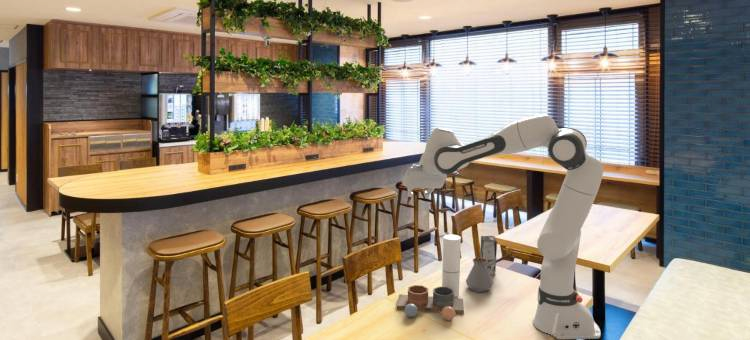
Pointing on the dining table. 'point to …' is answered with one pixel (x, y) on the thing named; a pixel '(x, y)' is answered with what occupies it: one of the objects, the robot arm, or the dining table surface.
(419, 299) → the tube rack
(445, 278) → the cylindrical container
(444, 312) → the terracotta ball
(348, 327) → the dining table surface
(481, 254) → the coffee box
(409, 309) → the slate ball
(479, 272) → the coffee pot
